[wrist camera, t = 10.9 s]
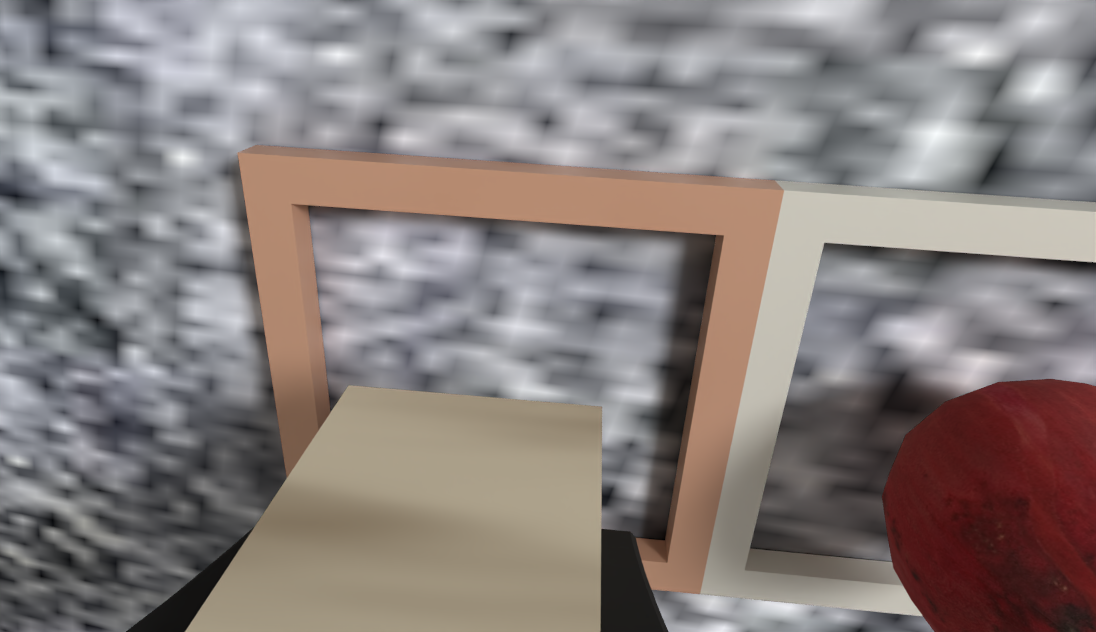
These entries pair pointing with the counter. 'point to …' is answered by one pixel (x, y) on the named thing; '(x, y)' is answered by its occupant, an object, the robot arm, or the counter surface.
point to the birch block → (427, 522)
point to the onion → (999, 510)
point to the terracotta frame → (540, 196)
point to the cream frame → (784, 305)
